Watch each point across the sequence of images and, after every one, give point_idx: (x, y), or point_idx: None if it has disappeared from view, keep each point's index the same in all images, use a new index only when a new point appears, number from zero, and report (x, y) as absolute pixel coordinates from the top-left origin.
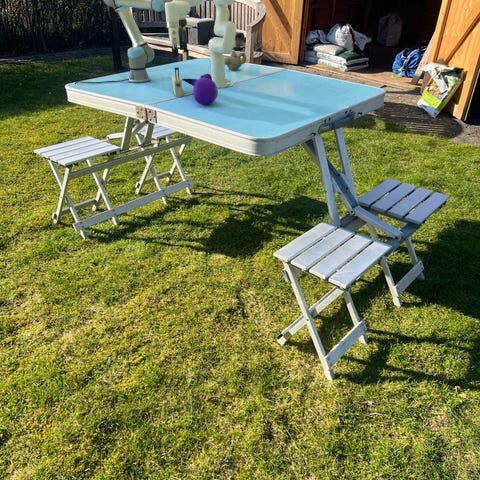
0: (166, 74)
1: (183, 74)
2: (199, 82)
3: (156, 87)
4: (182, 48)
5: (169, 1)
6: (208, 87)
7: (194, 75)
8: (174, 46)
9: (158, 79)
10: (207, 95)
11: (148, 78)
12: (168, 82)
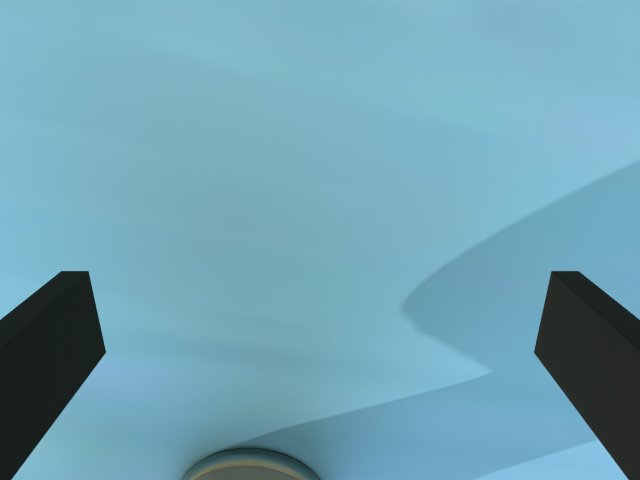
0: (5, 290)
1: (39, 128)
2: None
3: (550, 441)
4: (78, 311)
5: None
6: None
7: (137, 12)
8: None
9: (238, 386)
10: None
11: (288, 474)
12: (408, 339)
